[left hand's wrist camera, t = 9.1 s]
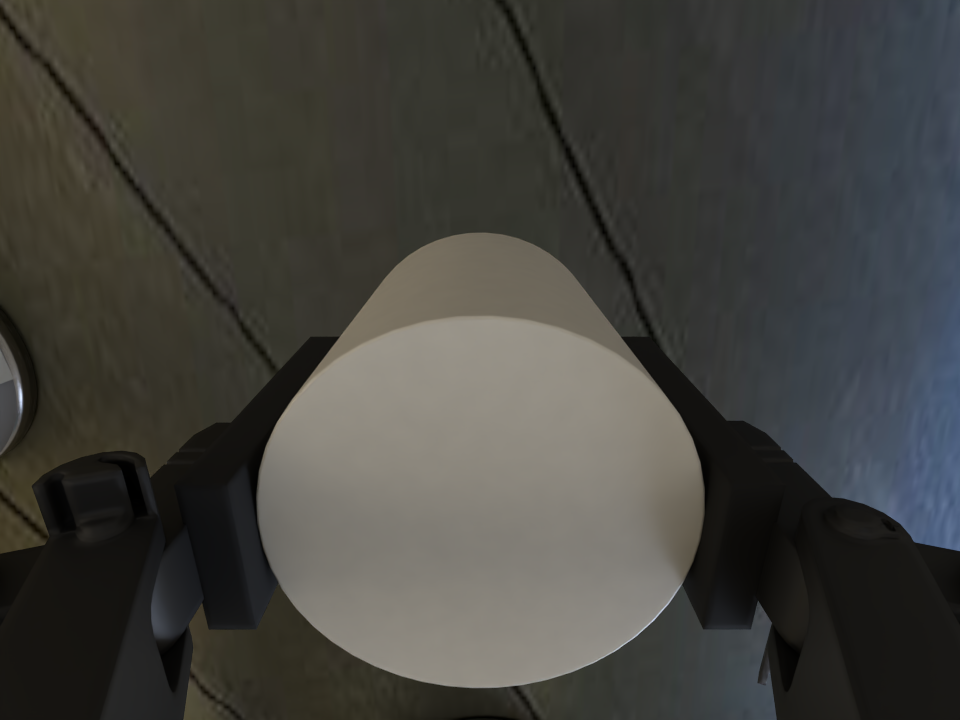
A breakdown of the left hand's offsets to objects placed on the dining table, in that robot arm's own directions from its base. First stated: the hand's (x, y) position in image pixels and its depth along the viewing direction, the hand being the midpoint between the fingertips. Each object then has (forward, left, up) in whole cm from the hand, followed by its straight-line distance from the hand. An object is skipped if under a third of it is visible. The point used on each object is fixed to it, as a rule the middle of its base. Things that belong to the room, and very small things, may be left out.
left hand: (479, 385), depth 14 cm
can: (0, 0, -2) cm, 2 cm away
